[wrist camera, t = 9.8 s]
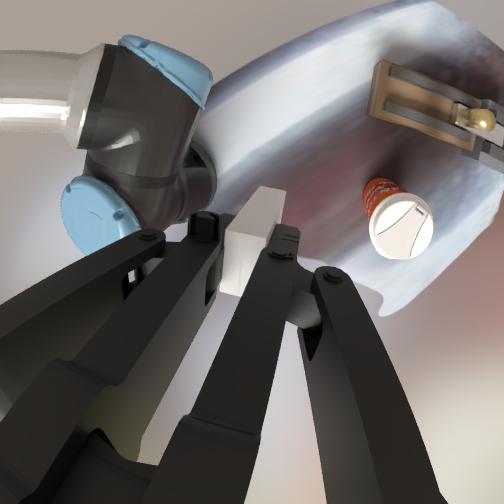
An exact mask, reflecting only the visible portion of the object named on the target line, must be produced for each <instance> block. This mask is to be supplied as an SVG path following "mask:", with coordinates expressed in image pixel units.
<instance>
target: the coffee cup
mask: <svg viewBox="0 0 504 504" xmlns="http://www.w3.org/2000/svg"><path fill="white" fill-rule="evenodd" d="M363 202H364V206H365V209H366V213H367V216H368V220H369V223H370V225H369V232H370V237H371V240H372V243H373V244H374V246H375V248H376V249H377V251H378V252H379V253H380V254H381V255H383V256H385V257H387V258H390V259H411V258H413V257H416V256H417V255H419V254H420V253H421V252H423V251H424V249H425V248H426V247H427V246H428V244H429V242H430V240H431V237H432V234H433V216H432V213H431V210H430V208H429V207H428V205H427V204H426V203H425V202H424V201H423V200H422V199H421V198H419V197H418V196H416V195H414V194H410V193H409V192H407V191H405V190H404V189H402V188H401V187H399V186H398V185H396V184H395V183H393V182H392V181H390V180H388V179H385V178H375V179H373V180H371V181H370V182H369V183H368V184H367V185H366V186H365V188H364V191H363Z"/></svg>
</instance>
